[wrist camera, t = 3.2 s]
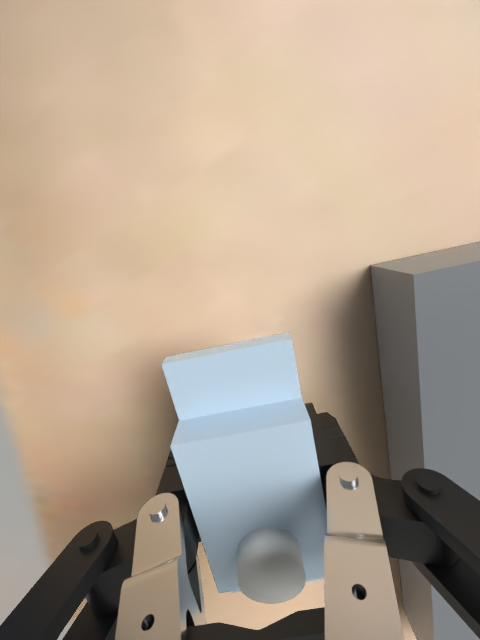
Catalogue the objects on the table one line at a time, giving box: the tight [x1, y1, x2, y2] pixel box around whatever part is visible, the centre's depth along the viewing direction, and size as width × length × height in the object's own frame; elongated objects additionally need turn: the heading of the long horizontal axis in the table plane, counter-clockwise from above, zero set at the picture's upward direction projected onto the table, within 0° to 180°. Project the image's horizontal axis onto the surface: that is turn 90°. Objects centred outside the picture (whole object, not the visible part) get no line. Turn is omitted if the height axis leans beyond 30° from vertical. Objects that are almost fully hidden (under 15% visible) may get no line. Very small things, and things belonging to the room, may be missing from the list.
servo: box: [162, 332, 327, 604], centre depth 11 cm, size 10×4×6 cm, turn 12°
